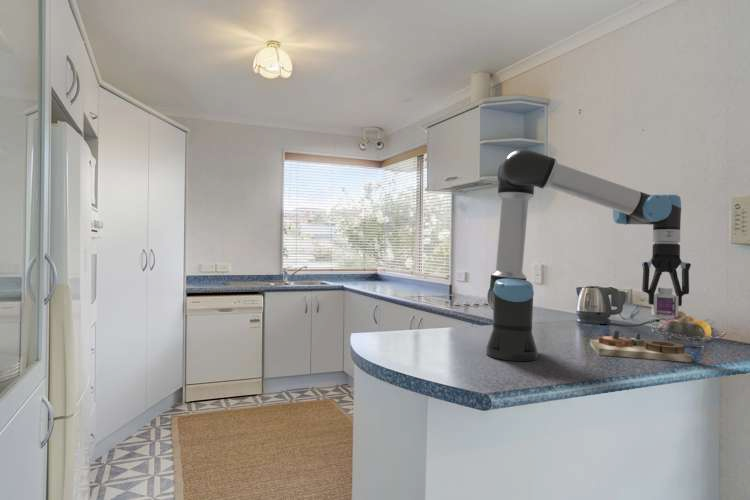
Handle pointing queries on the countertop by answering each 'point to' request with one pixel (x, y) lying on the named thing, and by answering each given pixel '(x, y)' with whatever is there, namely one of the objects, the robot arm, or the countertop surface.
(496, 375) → the countertop surface
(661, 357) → the gear board
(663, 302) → the pill bottle
